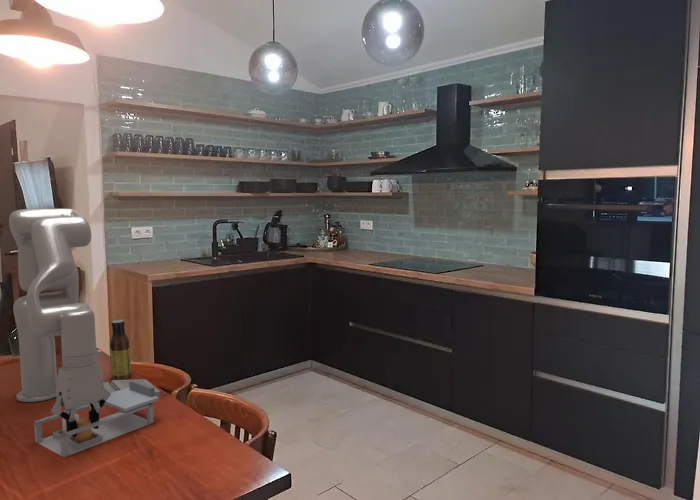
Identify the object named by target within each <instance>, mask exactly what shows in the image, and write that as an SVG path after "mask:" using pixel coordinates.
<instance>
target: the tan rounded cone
mask: <svg viewBox="0 0 700 500" xmlns="http://www.w3.org/2000/svg"><path fill="white" fill-rule="evenodd" d="M88 424H91V420H90V419H89V418H81V419H79V420H78V421H77V428H80V427H83V426H86V425H88ZM92 438H93V437H92V429H91V428H90V429H87V430H84V431H82V432H79V433H77V436H76V437H75V441H76V442H77V443H82V442H84V441H87V440H90V439H92Z"/></svg>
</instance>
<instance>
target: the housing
mask: <svg viewBox="0 0 700 500" xmlns="http://www.w3.org/2000/svg"><path fill="white" fill-rule="evenodd" d="M89 407H90V405H89V404H88V405H85V406H82V407H79V408H76V412H75V413H77V412H80V411H84V410H87V409H86V408H88V409H90V408H89ZM145 409H146V418H144V417H142V416H139V415H138V414H134V413H137V412H139V411H142V410H145ZM58 418H61V417H60V416H58V415H55V414H53V415H52V414H51V415H50V416H46V417H43V418H41V419H37V420H34V421H33V428H34V430H33V431H34V442H35V443H36V444H38V445H41V446H42V447H44V448H46V449H48V450H49V451H52V452H53V453H55V454H56V455H59V456H61V457H62V458H66V457H68V456H72V455H74V454H77V453H79V452H81V451H84V450H87V449H89V448H91V447H95V446H98V445H99V444H102V443H105V442H107V441H109V440H112V439H115V438H117V437H120V436H122V435H125V434H127V433H131V432H133V431H135V430H138V429H140V428H143V427H145V426H148V425H151V424H153V423H154V419H155V418H154V402H152V403H149V404H146V405H143V406H140V407H137V408H135V409H132V410H129V411H126V412H124V411H121V410H119V411H118V412H116V413H112V414H110V415H107V416H105V417H102V418H99V421H97V422H94V423H91V424H88V425H86V426H83V427H80V428H77V429H74V430H71V431H69V432H66V433H63V428H61V429H58V430H56V431H53V432H52V435H49V436H48V437H43V429H42V428H43V426H42V424H43V423H47V422H49V421H52V420H56V419H58ZM98 425H99V428H98V429H94V428H93V427H96V426H98ZM90 428H91V429H92V437H93V438H92V439H90V440H87V441H84V442H82V443H77V442H76V441H75V437H73V436H71V435H73V434H76V433H79V432H82V431H84V430H87V429H90Z"/></svg>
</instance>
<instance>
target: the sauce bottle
mask: <svg viewBox="0 0 700 500" xmlns="http://www.w3.org/2000/svg"><path fill="white" fill-rule="evenodd" d="M125 325H126V323H125V319H115V320H112V321H111V327H112V334H111V339H110V342H109V355H110V367H111V368H110V369H111V370H110V371H111V377H112V380H128V379H129V378H131V377H132V361H131V360H132V359H131V348H130V340H129V338H128V336H127V334H126V332H125V331H126V329H125Z"/></svg>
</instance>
